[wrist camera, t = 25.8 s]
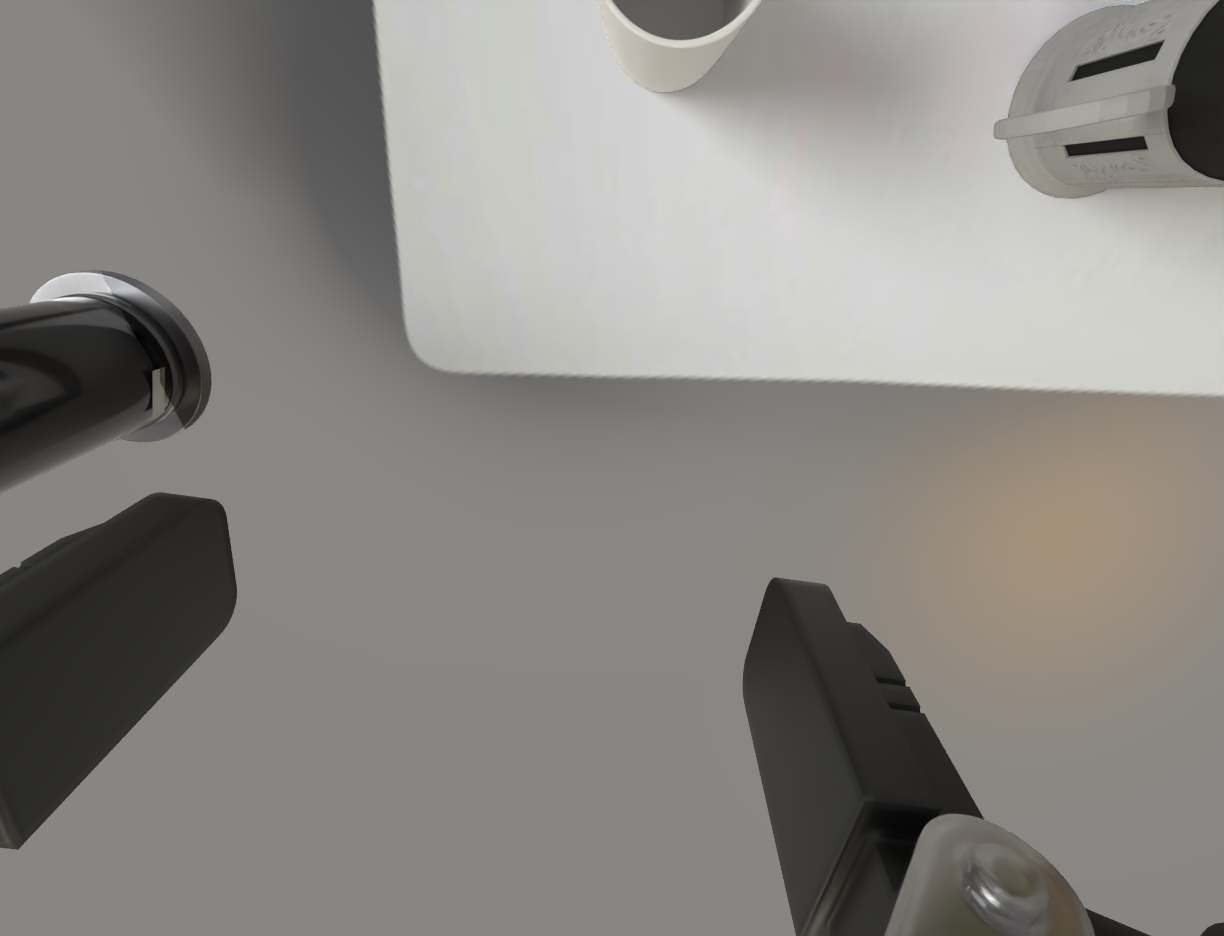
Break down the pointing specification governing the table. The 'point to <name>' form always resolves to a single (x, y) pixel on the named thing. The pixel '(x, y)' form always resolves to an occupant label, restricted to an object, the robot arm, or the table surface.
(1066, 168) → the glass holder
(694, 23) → the mug
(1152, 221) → the table surface
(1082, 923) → the robot arm
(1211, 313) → the table surface
